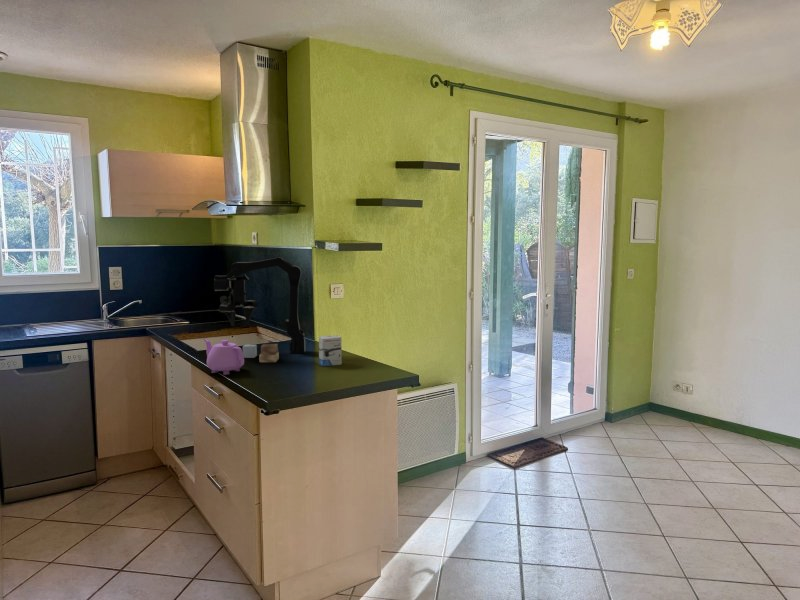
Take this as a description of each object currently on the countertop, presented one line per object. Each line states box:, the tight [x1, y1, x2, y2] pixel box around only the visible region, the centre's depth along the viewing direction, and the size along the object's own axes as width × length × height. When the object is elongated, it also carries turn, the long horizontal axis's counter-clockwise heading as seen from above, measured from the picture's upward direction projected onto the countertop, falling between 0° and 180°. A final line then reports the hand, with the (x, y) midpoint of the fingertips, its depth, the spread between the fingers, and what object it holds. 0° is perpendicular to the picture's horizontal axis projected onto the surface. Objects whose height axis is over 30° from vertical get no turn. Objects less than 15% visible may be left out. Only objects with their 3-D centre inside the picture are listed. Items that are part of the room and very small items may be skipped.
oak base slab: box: [258, 350, 280, 363], centre depth 240 cm, size 7×7×4 cm
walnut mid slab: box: [260, 343, 279, 355], centre depth 240 cm, size 6×6×4 cm
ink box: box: [318, 334, 343, 367], centre depth 233 cm, size 8×5×12 cm, turn 118°
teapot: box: [203, 338, 245, 376], centre depth 220 cm, size 20×14×12 cm
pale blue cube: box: [242, 344, 258, 359], centre depth 247 cm, size 5×5×5 cm
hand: (240, 324), depth 252 cm, fingers open, 9 cm apart
